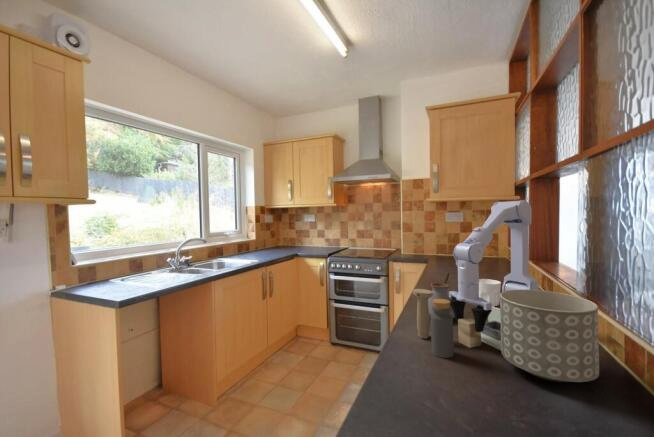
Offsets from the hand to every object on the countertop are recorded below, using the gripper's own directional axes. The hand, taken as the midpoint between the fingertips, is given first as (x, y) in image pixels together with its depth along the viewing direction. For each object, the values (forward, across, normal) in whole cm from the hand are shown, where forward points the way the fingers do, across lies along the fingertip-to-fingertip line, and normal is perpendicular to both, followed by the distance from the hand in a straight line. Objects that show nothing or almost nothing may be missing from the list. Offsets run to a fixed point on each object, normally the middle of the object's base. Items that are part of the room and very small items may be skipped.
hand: (469, 326), depth 87 cm
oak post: (+5, 0, 0) cm, 5 cm away
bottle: (+5, +2, -12) cm, 13 cm away
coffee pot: (+5, -24, +11) cm, 26 cm away
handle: (+5, -9, -10) cm, 14 cm away
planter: (+5, +19, +5) cm, 21 cm away
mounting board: (+5, 0, +11) cm, 12 cm away
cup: (+5, -27, +38) cm, 47 cm away
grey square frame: (+4, 0, +12) cm, 13 cm away
